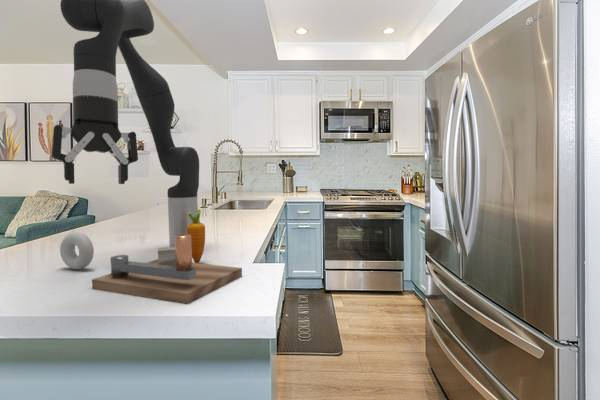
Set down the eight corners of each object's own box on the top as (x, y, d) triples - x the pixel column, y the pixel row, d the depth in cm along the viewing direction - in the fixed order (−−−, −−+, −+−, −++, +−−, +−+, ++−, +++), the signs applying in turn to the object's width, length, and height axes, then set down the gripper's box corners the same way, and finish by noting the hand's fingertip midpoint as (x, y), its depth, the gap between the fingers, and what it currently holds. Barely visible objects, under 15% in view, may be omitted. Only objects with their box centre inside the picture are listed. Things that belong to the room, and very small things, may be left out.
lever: (121, 271, 86) (118, 229, 85) (197, 281, 77) (196, 234, 77) (107, 275, 82) (105, 231, 82) (186, 286, 74) (184, 237, 73)
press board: (158, 266, 100) (157, 240, 99) (242, 276, 90) (241, 247, 89) (92, 288, 81) (90, 257, 81) (187, 303, 71) (186, 268, 71)
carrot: (189, 266, 99) (188, 211, 98) (186, 262, 103) (184, 209, 102) (208, 264, 101) (206, 210, 100) (204, 260, 106) (202, 208, 104)
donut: (97, 269, 97) (95, 231, 97) (86, 272, 94) (84, 233, 93) (69, 266, 101) (67, 229, 100) (58, 269, 97) (55, 232, 97)
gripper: (130, 107, 78) (131, 184, 78) (49, 97, 69) (50, 184, 69) (140, 100, 72) (141, 183, 72) (52, 88, 63) (54, 182, 63)
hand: (97, 183), depth 71 cm, fingers open, 8 cm apart
